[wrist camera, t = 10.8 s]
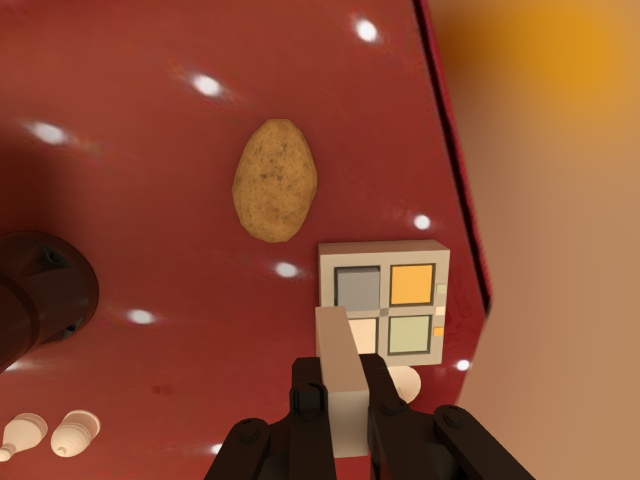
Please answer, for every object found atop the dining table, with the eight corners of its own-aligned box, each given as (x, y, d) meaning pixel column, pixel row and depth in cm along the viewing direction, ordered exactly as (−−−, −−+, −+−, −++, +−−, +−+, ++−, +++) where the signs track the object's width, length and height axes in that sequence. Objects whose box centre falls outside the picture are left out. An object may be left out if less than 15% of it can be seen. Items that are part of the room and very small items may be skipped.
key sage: (385, 341, 50) (389, 352, 47) (386, 309, 48) (391, 318, 46) (420, 340, 50) (426, 350, 47) (422, 307, 49) (428, 316, 46)
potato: (323, 127, 44) (329, 123, 36) (307, 236, 47) (309, 253, 40) (244, 114, 43) (232, 108, 35) (234, 226, 46) (221, 242, 39)
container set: (-36, 444, 53) (-73, 478, 47) (-46, 414, 51) (-85, 446, 46) (104, 436, 54) (82, 468, 48) (98, 407, 52) (75, 437, 47)
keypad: (320, 348, 52) (322, 371, 47) (317, 243, 48) (320, 255, 42) (427, 343, 53) (442, 365, 47) (434, 239, 49) (451, 250, 43)
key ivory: (335, 344, 49) (337, 355, 47) (335, 311, 48) (337, 320, 45) (371, 342, 49) (374, 353, 47) (371, 309, 48) (375, 318, 46)
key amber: (386, 295, 48) (391, 303, 45) (387, 260, 46) (392, 266, 44) (422, 294, 48) (429, 302, 46) (425, 259, 47) (432, 265, 44)
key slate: (336, 302, 46) (338, 312, 43) (335, 266, 45) (338, 273, 42) (374, 301, 46) (378, 310, 44) (375, 264, 45) (379, 272, 42)
